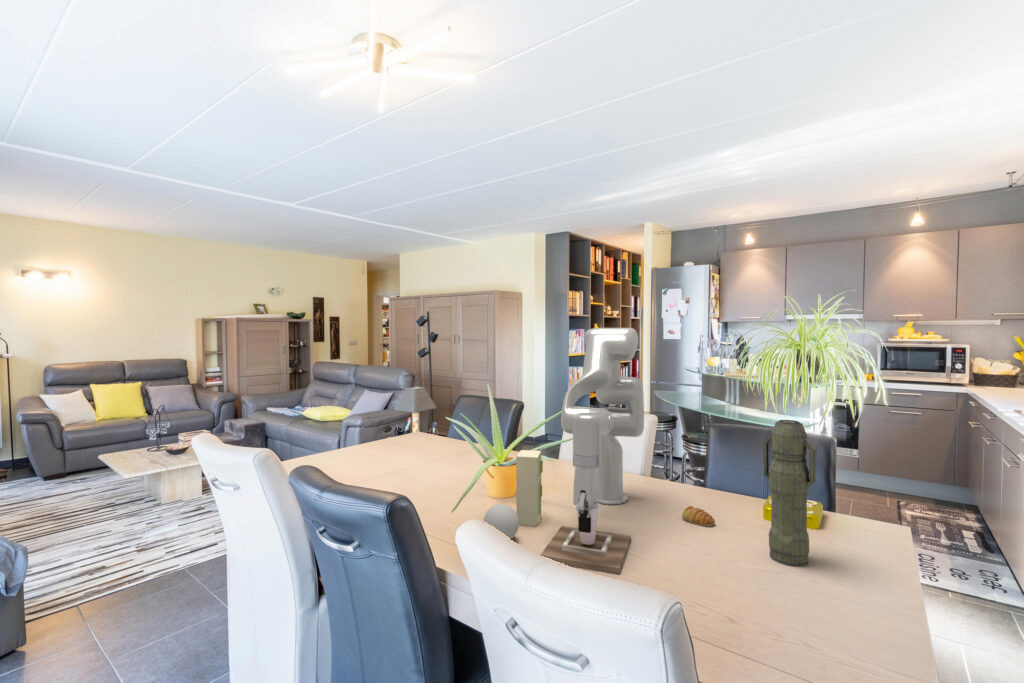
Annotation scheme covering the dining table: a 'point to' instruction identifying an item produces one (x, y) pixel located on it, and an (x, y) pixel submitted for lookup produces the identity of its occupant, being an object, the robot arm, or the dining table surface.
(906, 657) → the dining table surface
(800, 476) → the thermos
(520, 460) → the toy refrigerator
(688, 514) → the pastry
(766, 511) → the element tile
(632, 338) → the robot arm
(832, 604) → the dining table surface
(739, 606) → the dining table surface
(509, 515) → the ball
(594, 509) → the smoothie
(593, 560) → the walnut board
